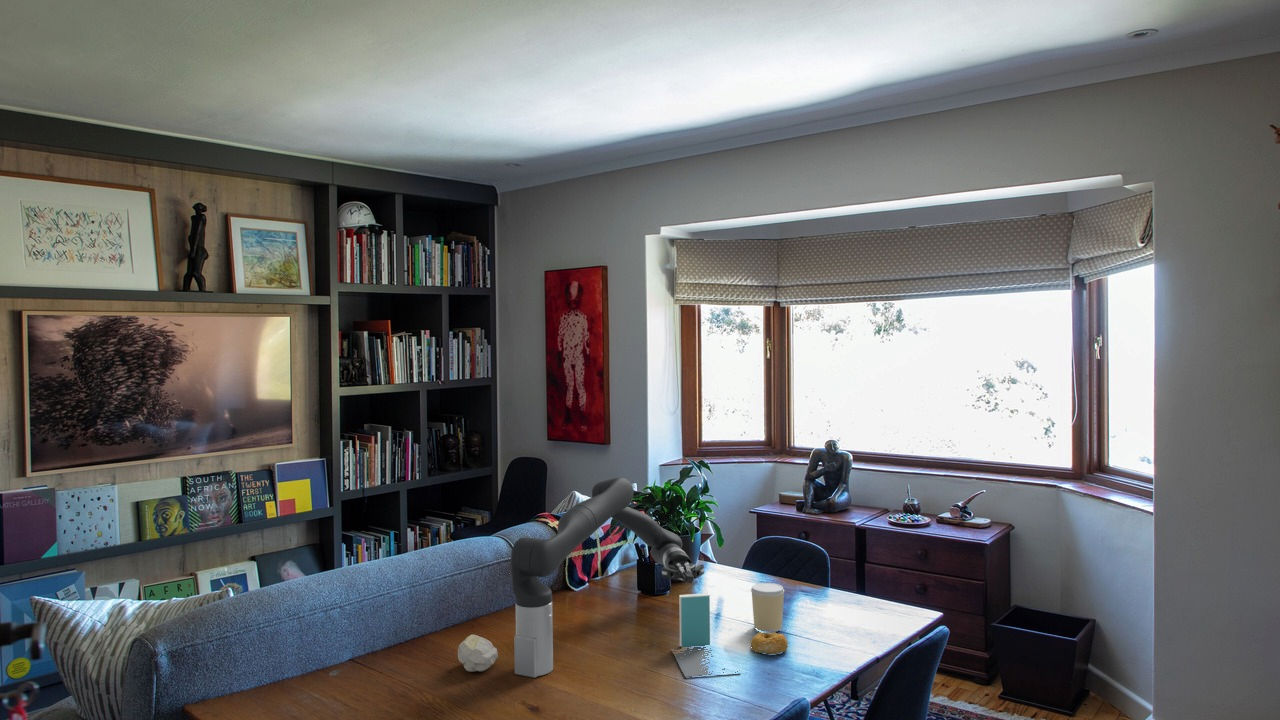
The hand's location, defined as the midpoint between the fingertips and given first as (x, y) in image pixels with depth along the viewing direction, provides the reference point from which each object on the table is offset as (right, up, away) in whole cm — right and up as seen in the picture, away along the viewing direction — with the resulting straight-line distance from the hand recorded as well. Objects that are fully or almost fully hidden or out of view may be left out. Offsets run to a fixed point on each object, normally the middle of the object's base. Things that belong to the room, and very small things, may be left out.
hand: (689, 579), depth 224 cm
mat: (+3, -17, -17) cm, 24 cm away
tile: (+1, -16, -6) cm, 17 cm away
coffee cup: (+23, -16, +7) cm, 29 cm away
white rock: (-55, -18, -18) cm, 61 cm away
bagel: (+21, -17, -8) cm, 28 cm away
